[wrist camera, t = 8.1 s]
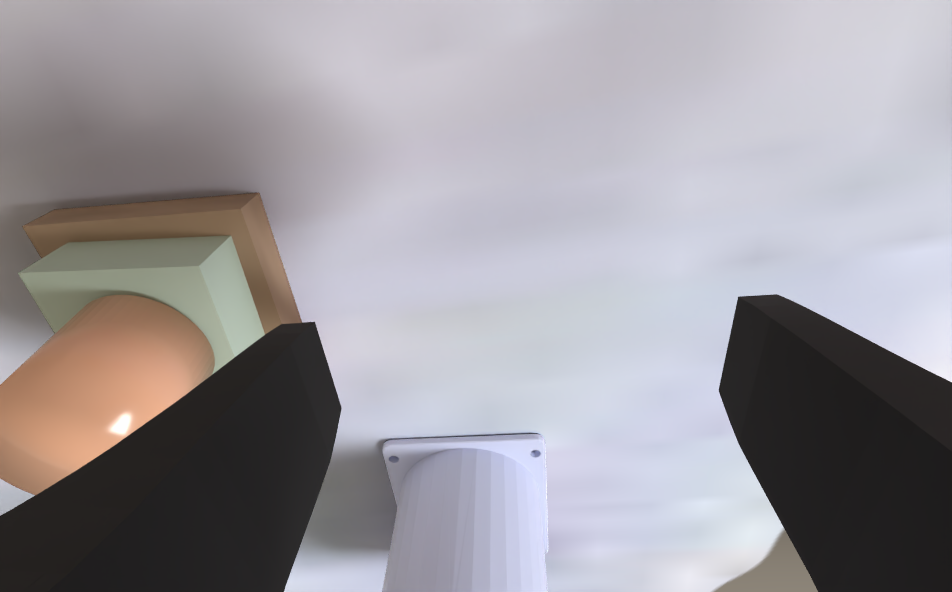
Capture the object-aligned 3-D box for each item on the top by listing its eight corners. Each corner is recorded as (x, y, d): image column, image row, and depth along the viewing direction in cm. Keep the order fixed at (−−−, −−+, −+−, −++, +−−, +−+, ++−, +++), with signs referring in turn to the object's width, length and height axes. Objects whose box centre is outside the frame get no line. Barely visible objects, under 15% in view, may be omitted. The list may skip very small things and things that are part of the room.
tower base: (320, 354, 23) (304, 387, 21) (154, 363, 24) (125, 396, 22) (266, 186, 19) (240, 208, 17) (68, 202, 20) (22, 226, 18)
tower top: (276, 368, 21) (254, 407, 19) (137, 372, 21) (101, 410, 19) (231, 235, 18) (199, 266, 16) (68, 242, 18) (17, 273, 16)
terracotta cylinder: (212, 406, 19) (149, 517, 15) (81, 378, 18) (-19, 489, 15) (218, 315, 17) (146, 421, 13) (67, 278, 16) (-56, 380, 12)
